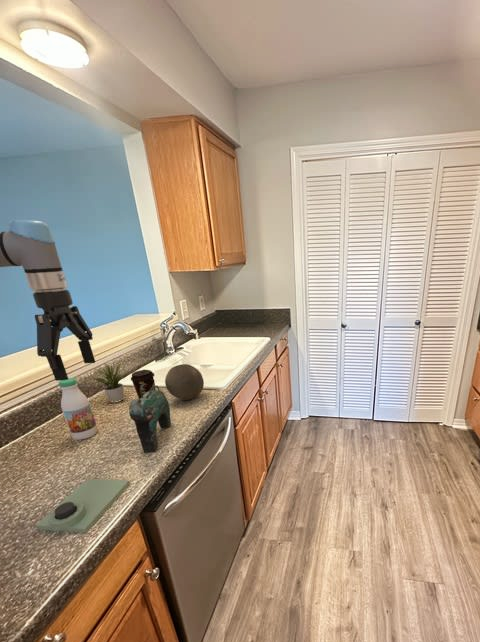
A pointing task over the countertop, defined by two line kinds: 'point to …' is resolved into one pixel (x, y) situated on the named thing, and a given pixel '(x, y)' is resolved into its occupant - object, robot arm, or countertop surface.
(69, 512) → the tare button
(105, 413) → the countertop surface
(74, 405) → the milk bottle
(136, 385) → the coffee cup
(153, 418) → the teal painted figure
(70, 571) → the countertop surface
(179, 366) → the dark brown ball
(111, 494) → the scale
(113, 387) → the house plant
